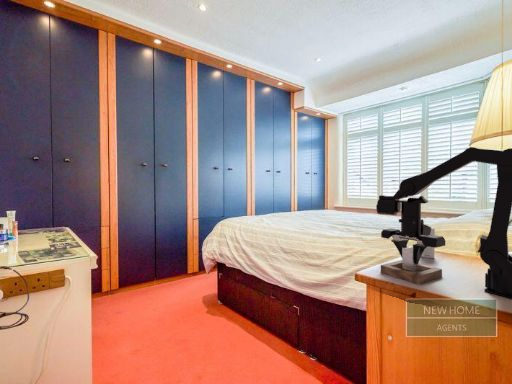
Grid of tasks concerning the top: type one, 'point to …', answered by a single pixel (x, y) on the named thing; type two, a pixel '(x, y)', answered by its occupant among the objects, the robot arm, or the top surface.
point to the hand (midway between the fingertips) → (410, 262)
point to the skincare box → (429, 248)
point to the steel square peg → (408, 259)
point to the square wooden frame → (423, 276)
